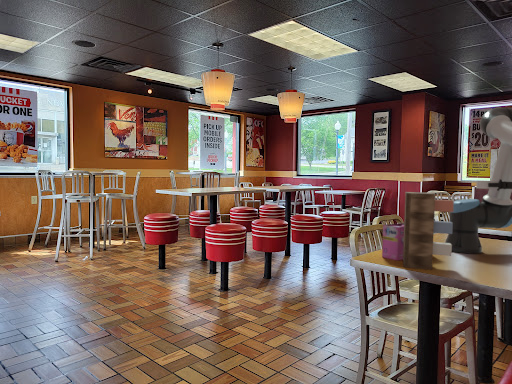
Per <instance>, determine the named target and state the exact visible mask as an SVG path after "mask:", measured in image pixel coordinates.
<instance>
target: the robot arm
mask: <svg viewBox="0 0 512 384" xmlns="http://www.w3.org/2000/svg"><path fill="white" fill-rule="evenodd" d="M479 128H480V130H481V132H482V133H483V134H484V135H486V136H487V137H489V138H492V139H498V141H499V142H500V144H499V148H498V153H497V157H496V159H495V165H494V169H493V172H492V177H491V180H476V187H475V189H480V190H481V189H483V190H484V189H485V190H486V189H488V191H487V194H485V195H483V197H482V200H481V201H480V200H479V199H478V198H477V199H476V198H467V199H466V198H465V199H457V200H453V201H454V206H453V212H449V222H452V223H453V229H452V234H447V237H446V239H445V242H444V243H450V244H451V245H452V251H451V252H454V253H460V254H461V253H462V254H481V253H482V249H483V246H482V244H481V241H480V238H479V229H481V228H482V229H506V228H508V227H510V226H511V225H512V199H511V196H512V107H494V108H492V109H489V110H487V111H486V112H485V113H483V115H482V116H481V118H480V121H479Z"/></svg>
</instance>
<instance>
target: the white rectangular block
mask: <svg viewBox="0 0 512 384" xmlns="http://www.w3.org/2000/svg"><path fill="white" fill-rule="evenodd" d="M452 252H453V251H452V245H451V244H450V243H445V242H441V241H440V242H437V241H433V255H435V256H436V255H437V256H448V257H451V256H452Z"/></svg>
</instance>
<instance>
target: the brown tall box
mask: <svg viewBox="0 0 512 384" xmlns="http://www.w3.org/2000/svg"><path fill="white" fill-rule="evenodd" d="M404 195H405V199H404V217H403V219H404V220H403V221H404V222H403V223H404V243H403V260H402V264H403V268H411V269H418V270H419V269H421V270H431V271H432V270H433V258H434V257H433V242H434V234H435V233H434V221H435V211H434V209H435V200H436V193H434V192H420V191H419V192H418V191H417V192H416V191H414V192H413V191H405V193H404Z"/></svg>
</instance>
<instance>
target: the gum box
mask: <svg viewBox="0 0 512 384" xmlns="http://www.w3.org/2000/svg"><path fill="white" fill-rule="evenodd" d="M382 225H383V226H382V249H381V250H382V252H381V257H382V258H385V259H388V260H393V261H403V243H404V222H403V223H391V224H390V223H388V224H382Z"/></svg>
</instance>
